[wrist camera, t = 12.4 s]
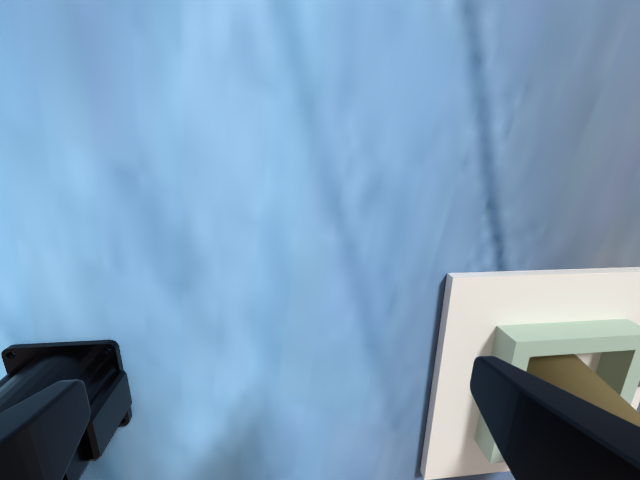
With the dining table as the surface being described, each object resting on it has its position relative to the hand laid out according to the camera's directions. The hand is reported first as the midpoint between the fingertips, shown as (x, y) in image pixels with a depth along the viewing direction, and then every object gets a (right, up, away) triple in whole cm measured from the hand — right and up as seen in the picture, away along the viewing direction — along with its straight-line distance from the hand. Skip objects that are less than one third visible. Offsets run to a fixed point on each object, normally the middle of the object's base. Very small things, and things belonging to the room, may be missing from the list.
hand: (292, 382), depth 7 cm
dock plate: (+18, -7, +18) cm, 27 cm away
